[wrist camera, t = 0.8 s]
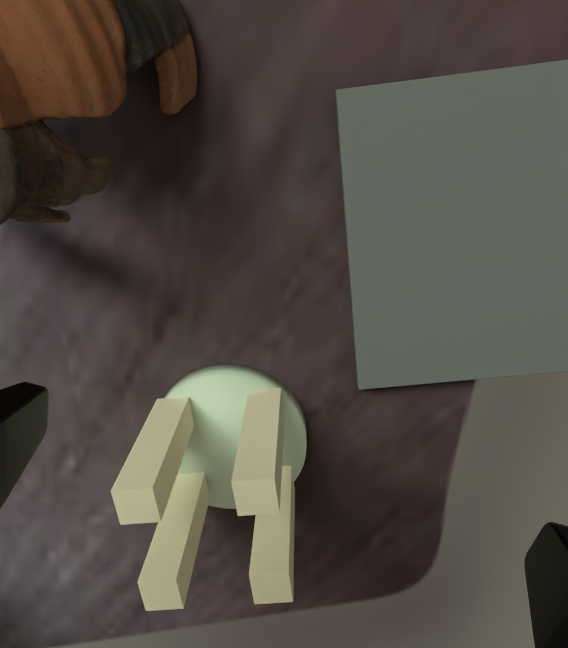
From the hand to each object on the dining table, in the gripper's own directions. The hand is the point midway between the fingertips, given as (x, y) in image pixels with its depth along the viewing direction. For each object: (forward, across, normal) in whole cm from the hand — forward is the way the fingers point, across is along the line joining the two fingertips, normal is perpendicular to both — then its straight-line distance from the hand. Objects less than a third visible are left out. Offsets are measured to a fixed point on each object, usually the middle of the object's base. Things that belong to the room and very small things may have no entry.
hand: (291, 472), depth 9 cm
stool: (+13, +2, +9) cm, 16 cm away
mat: (+14, -6, -2) cm, 16 cm away
